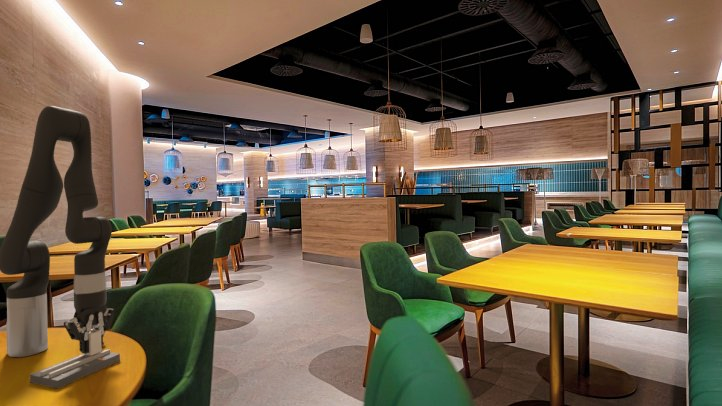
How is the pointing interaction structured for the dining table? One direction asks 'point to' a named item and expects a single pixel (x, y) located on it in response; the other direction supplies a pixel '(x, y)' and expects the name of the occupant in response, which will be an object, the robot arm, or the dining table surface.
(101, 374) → the dining table surface
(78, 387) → the dining table surface
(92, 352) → the fader tab
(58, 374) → the grey ridged rail base
